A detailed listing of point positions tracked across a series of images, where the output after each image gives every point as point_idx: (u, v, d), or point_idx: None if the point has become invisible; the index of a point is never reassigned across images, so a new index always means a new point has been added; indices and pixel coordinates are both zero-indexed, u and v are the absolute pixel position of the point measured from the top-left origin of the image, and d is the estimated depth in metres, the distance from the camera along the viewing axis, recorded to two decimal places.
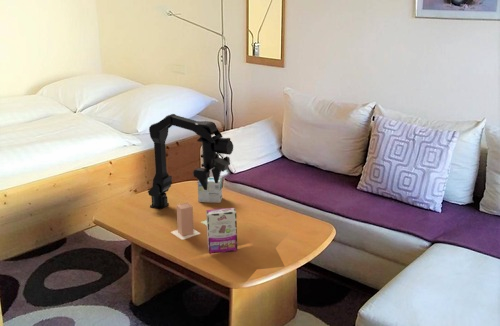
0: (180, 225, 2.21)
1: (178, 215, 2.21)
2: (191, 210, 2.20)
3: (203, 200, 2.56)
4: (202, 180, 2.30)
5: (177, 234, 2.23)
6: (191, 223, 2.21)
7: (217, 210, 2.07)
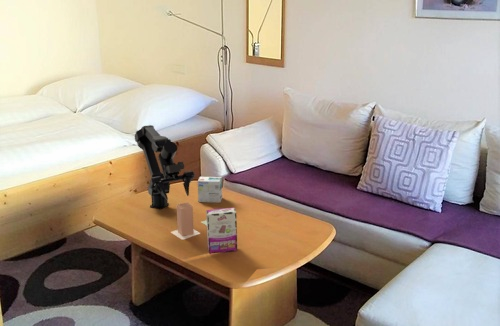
0: (180, 225, 2.21)
1: (178, 215, 2.21)
2: (191, 210, 2.20)
3: (203, 200, 2.56)
4: (161, 190, 2.27)
5: (177, 234, 2.23)
6: (191, 223, 2.21)
7: (217, 210, 2.07)
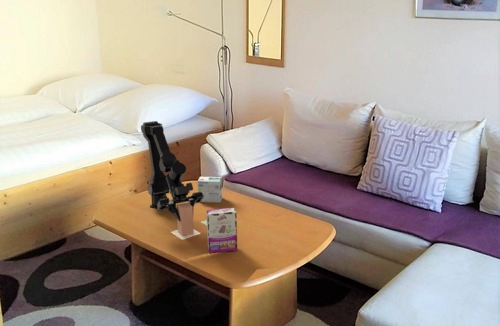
0: (180, 225, 2.21)
1: None
2: (191, 210, 2.20)
3: (203, 200, 2.56)
4: (173, 211, 2.22)
5: (177, 234, 2.23)
6: (191, 223, 2.21)
7: (217, 210, 2.07)
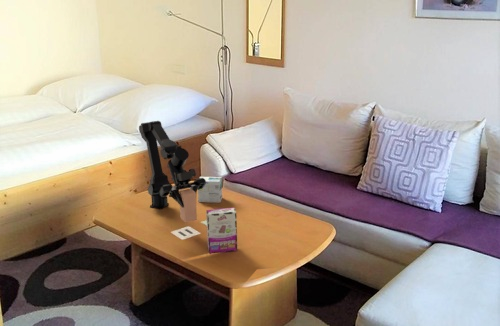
0: (183, 211, 2.20)
1: None
2: (194, 196, 2.19)
3: (203, 200, 2.56)
4: (176, 197, 2.20)
5: (177, 234, 2.23)
6: (194, 209, 2.20)
7: (217, 210, 2.07)
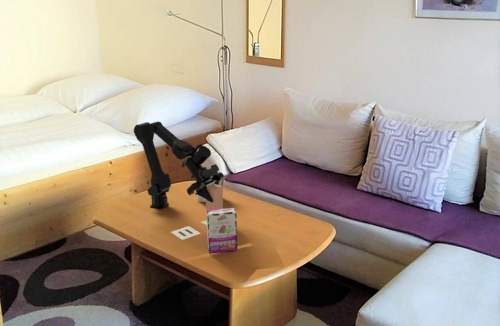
0: (211, 206, 2.29)
1: None
2: (221, 190, 2.29)
3: (203, 200, 2.56)
4: (203, 194, 2.27)
5: (177, 234, 2.23)
6: (221, 202, 2.31)
7: (217, 210, 2.07)
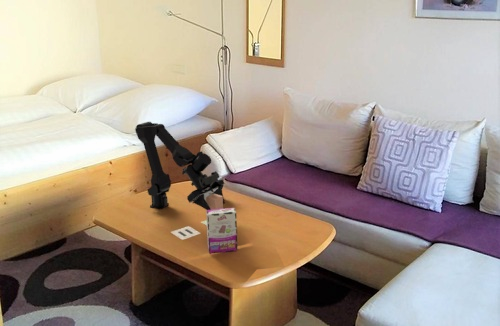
0: None
1: None
2: (221, 200, 2.30)
3: None
4: (201, 203, 2.27)
5: (177, 234, 2.23)
6: None
7: (217, 210, 2.07)
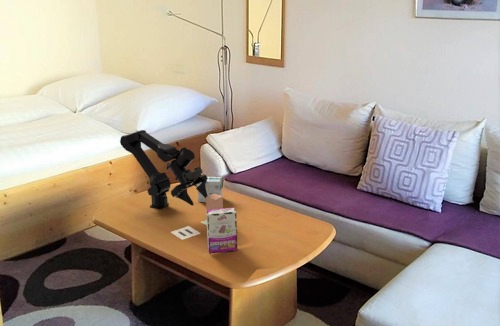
0: None
1: (209, 207, 2.29)
2: (221, 200, 2.30)
3: (203, 200, 2.56)
4: (184, 197, 2.32)
5: (177, 234, 2.23)
6: None
7: (217, 210, 2.07)
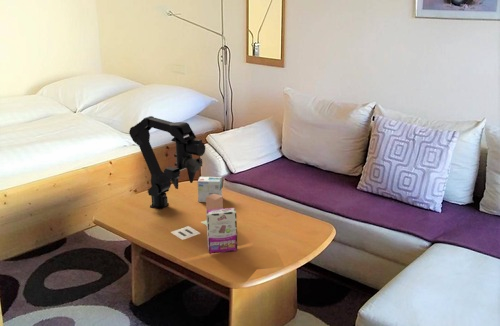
0: None
1: (209, 207, 2.29)
2: (221, 200, 2.30)
3: (203, 200, 2.56)
4: (173, 179, 2.35)
5: (177, 234, 2.23)
6: None
7: (217, 210, 2.07)
